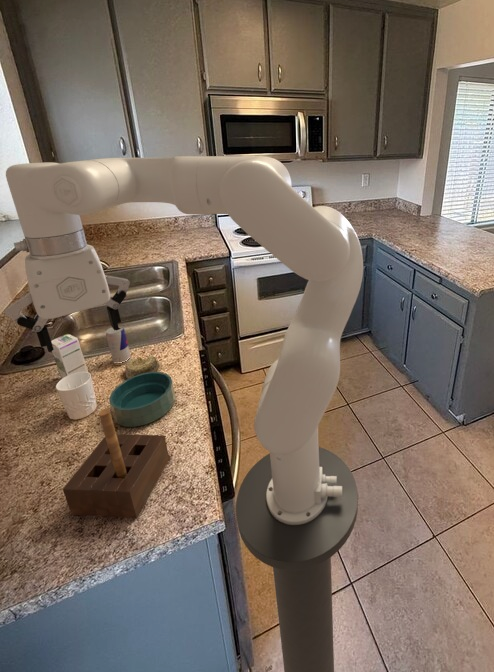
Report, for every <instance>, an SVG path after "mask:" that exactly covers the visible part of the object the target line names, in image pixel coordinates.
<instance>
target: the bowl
mask: <svg viewBox="0 0 494 672" xmlns="http://www.w3.org/2000/svg"><path fill="white" fill-rule="evenodd" d="M175 401H176V393H175V387H174V383H173V380H172V377H171V375H169V374H168V373H165V372H162V371H156V372H148V373H142V374H139V375H136V376H134V377H131V378H129V379H127V378H126V380H124V381H123V382H121V383H120V384H118V385H117V386H116V387H115V388H114V389H113V390H112V391H111V393H110V396H109V406H110V411H111V412H112V413H111V414H112V418H113V420H114V421H115V423H117V425H119V426H122V427H127V428H136V427H140V426H145V425H147V424H150V423H152V422H155V421H157V420H159V419H160V418H161V417H163V416H165V415H166V414H167V413H168V412H169V411H170V410H171V409H172V407H173V406H174V404H175Z"/></svg>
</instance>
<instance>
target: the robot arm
mask: <svg viewBox="0 0 494 672" xmlns="http://www.w3.org/2000/svg"><path fill="white" fill-rule="evenodd" d="M5 178H6V182H7V186H8V188H9V191H10V195H11V198H12V201H13V204H14V208H15V211H16V214H17V218H18V220H19V224H20V227H21V230H22V233H23V236H24V238H22V240H20V241H18V242H13V246H14V249H15V252H26V253H29V254H27V255H26V256H25V259H24V267H25V275H26V281H27V284H28V288H29V292H27V293H26V294H24V295H23V296H22V297H20V298H19V299H17V300H16V301H15V302H13V303H11V304H10V305H8V306H7V307H6V308H5V309H4V315H5V316H6V317H7V318H9V319H11V320H12V322H15V323H16V324H17V326H20V327H23V328H26V329H29V330H32V331H33V332H35V333H36V336H37V339H38V342H39V344H40V347H41V348H45V347H46V349H47V352H48V353H52V350H54V349H53V345H52V342H51V341H52V339H51V336H50V333H49V330H48V327H47V322H48V321H49V320H52V319H57V318H62V317H65V316H68V315H72V314H76V313H80V312H83V311H86V310H90V309H93V308H97V307H100V306H103V305H105V306H106V311H107V315H108V320H109V323H110V327H111V328H112V327H113V329H114V330H119V327H118V326H119V324H120V323H122V320H121V315H120V312H119V311H120V310H119V308H120V305H121V304H122V302H123V301H124V300H125V298H126V297H127V293H128V290H129V288H130V285H131V281H130V280H129V279H128V278H124V277H118V276H113V275H107V274H105V272H104V268H103V266H102V263H101V260H100V257H99V255H98V253H97V251H96V249H95V247H94V246H93V245H91V244H88V243H87V242H88V241H87V239H86V233H85V230H84V227H83V223H82V219H81V216H85V215H87V216H88V215H93V214H96V213H98V212H101V211H104V210H108V209H110V208H114V207H116V206H120V205H123V204H130V203H162V204H171V205H173V206H175V207H176V209H177V210H178V211H179V212H180V213H183V214H185V215H228V216H229V217H230V218H231V220H232V221H233V222H234V223H235V224H236V225H237V226H238V227H239V228H240V229H241V230H243V231H244V232H245V233H246V234H247V235H248V236H249V237H250V238H251V239H253V240H254V241H255V242H256V243H258V244H259V245H260V246H261V247H262V248H264V249H265V250H266V251H267V252H268V253H270V254H271V255H272V256H273V257H275V258H276V259H277V260H278V261H279V262H280V263H282V264H283V265H284V266H285V267H286V268H288V269H289V270H290V271H291V272H292V273H294V274H296V275H297V276H299V277H301V278H303V279H305V280H307V283H306V285H305V288H304V291H303V294H302V297H301V299H300V302H299V304H298V307H297V309H296V311H295V313H294V315H293V317H292V320H291V322H290V323H289V326H288V328H287V329H286V331H285V334H284V337H283V339H282V343H281V347H280V352H279V356H278V358H277V359H276V360H275V361H273V362H272V363H271V365H270V367H269V368H268V370H267V372H266V374H265V377H264V380H263V385H262V387H261V391H260V397H259V401H258V404H257V408H256V411H255V416H254V420H253V421H254V422H253V427H254V433H255V436H256V438H257V440H258V443H260V445H261V446H262V447H263V448H264V449H265V450H266V451H268V452H269V453H270V459H271V469H272V479H271V481H270V483H269V485H268V488H267V493H266V499H267V505H268V508H269V511H270V512H271V514H272V515H273V516H274V517H275V518H276V519H277V520H279V521H280V522H282V523H285V524H289V525H300V524H304V523H307V522H309V521H311V520H313V519H314V518H316V517H317V516H318V515H319V514H320V513H321V512H322V510H323V509H324V507H325V505H326V502H327V498H328V496H330V497H340V498H342V486H327V483H330V484H336V483H337V476H325V474H323V473H322V467H319V447H320V445H319V425H320V422H321V421H322V418H323V417H324V415H325V413H326V411H327V410H328V407H329V405H330V403H331V401H332V399H333V397H334V395H335V393H336V390H337V387H338V384H339V380H340V375H341V340H342V335H343V332H344V330H345V328H346V326H347V323H348V321H349V319H350V316H351V314H352V311H353V309H354V306H355V305H356V301H357V300H358V297H359V294H360V290H361V286H362V282H363V277H364V276H363V275H364V256H363V250H362V245H361V242H360V240H359V239H360V238H359V237H358V235H357V232H356V230H355V229H354V227H353V225H352V224H351V222H349V220H348V219H347V218H346V217H345V216H344V215H343V214H342V213H341V212H340V211H338V210H337V209H335V208H333V207H331V206H327V205H318V206H312V205H311V204H310V203H309V202H308V201H307V200H306V199H305V198H304V197H303V196H302V195H300V194H299V193H298V192H297V191H296V190H295V189H294V188H293V184H292V178H291V175H290V172H289V170H288V169H287V167H286V166H285V165H284V164H283V163H282V162H281V161H280V160H278V159H276V158H273V157H270V156H263V155H258V156H257V155H227V156H226V155H223V156H222V155H216V156H215V155H213V156H211V155H209V156H208V155H207V156H206V155H203V156H201V155H199V156H198V155H197V156H195V155H181V156H180V155H179V156H176V155H175V156H172V157H105V158H104V157H103V158H94V159H86V160H85V159H84V160H75V161H68V162H62V163H60V162H52V161H51V162H50V161H49V162H46V161H45V162H44V161H43V162H31V163H30V162H29V163H28V162H27V163H16V164H13V165H10V166H8V167H7V168H6V170H5ZM109 285H111V286H118V289H117V291H116V292H115V293H114V294H113V296H111V292H110V287H109ZM31 304H33V307H34V309H35V312H36V314H35V315H34V317H31V316H28V315H26V314H23V313H22V312H21V311H22V310H24V309H25V308H26V307H28V306H29V305H31Z"/></svg>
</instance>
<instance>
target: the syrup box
mask: <svg viewBox="0 0 494 672" xmlns="http://www.w3.org/2000/svg"><path fill="white" fill-rule="evenodd" d="M51 342H52V345H53V349H54V350H52V351H51V354H52V356H53V360H54V363H55V366H56V368H57V371H58V375H59V377H60V380H61V379H63V378H64V377H66V376H68V375H71V374H73V373H77V372H88V373H89V370H88V366H87V364H86V360H85V357H84V354H83V350H82V348H81V345H80V341H79V338H78V337H77V336H74V335H72V334H69V333H66V334H63V335H61V336H59V337H56V338H54V339H51Z"/></svg>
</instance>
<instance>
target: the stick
mask: <svg viewBox="0 0 494 672" xmlns="http://www.w3.org/2000/svg"><path fill="white" fill-rule="evenodd" d="M98 416H99V420H100V424H101V428H102V431H103V434H104V437H105V438H106V441H107V445H108V448H109V452H110V455H111V458H112V462H113V465H114V469H115V472H116V476H117V478H125V477H126V475H127V471H126V468H125V464H124V460H123V457H122V453H121V449H120V446H119V442H118V438H117V435H116V434H117V432H116V428H115V424H114V421H113V420H114V419H113V416H112V413H111V409H110V408H103V409H102V410H100V411H99V412H98Z"/></svg>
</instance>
